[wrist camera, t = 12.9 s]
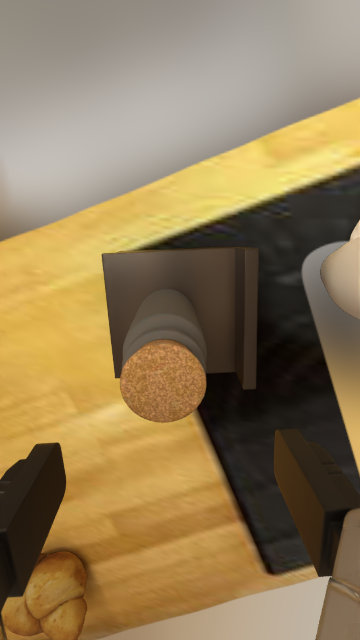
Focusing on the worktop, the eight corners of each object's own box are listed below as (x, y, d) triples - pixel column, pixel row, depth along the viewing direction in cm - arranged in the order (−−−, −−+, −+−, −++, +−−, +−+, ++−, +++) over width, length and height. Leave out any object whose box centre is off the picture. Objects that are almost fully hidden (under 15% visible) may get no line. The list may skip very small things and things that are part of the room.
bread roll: (14, 597, 47) (-16, 667, 40) (-3, 548, 45) (-40, 613, 37) (98, 586, 47) (83, 655, 39) (85, 537, 45) (67, 600, 37)
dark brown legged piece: (122, 359, 38) (107, 397, 29) (111, 251, 34) (90, 256, 26) (236, 353, 38) (256, 389, 29) (236, 245, 35) (258, 248, 26)
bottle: (143, 348, 32) (120, 439, 17) (133, 293, 30) (98, 342, 16) (199, 339, 32) (223, 424, 17) (191, 284, 30) (210, 325, 16)
